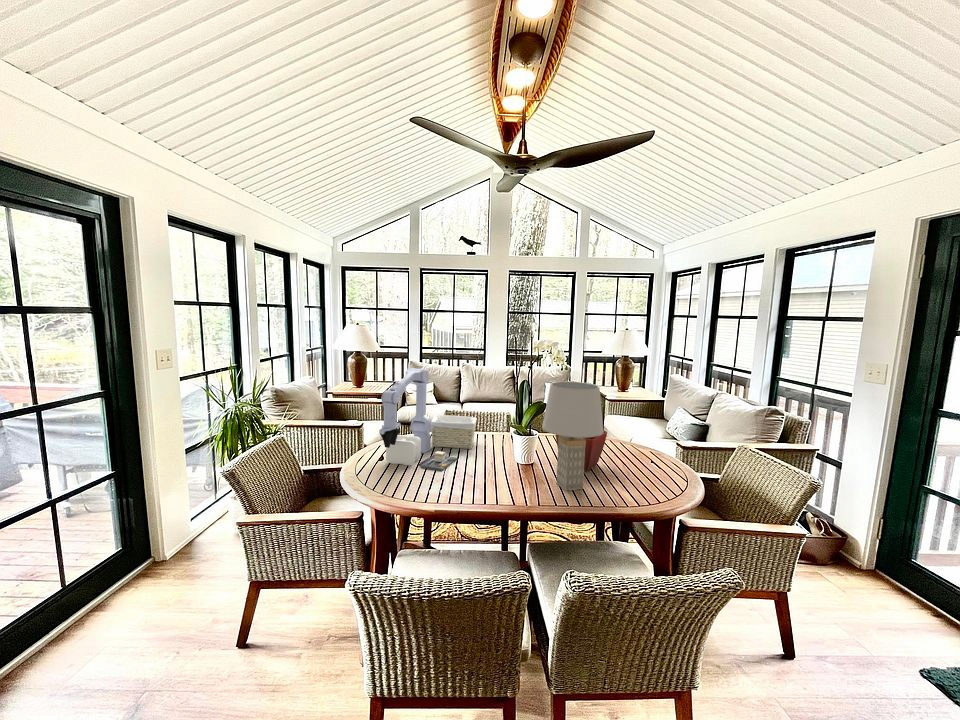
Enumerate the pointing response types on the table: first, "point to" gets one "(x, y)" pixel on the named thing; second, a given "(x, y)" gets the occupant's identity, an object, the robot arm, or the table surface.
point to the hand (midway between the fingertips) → (390, 445)
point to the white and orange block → (439, 456)
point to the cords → (426, 460)
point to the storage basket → (453, 431)
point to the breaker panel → (439, 463)
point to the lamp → (572, 427)
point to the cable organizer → (404, 450)
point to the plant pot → (592, 450)
